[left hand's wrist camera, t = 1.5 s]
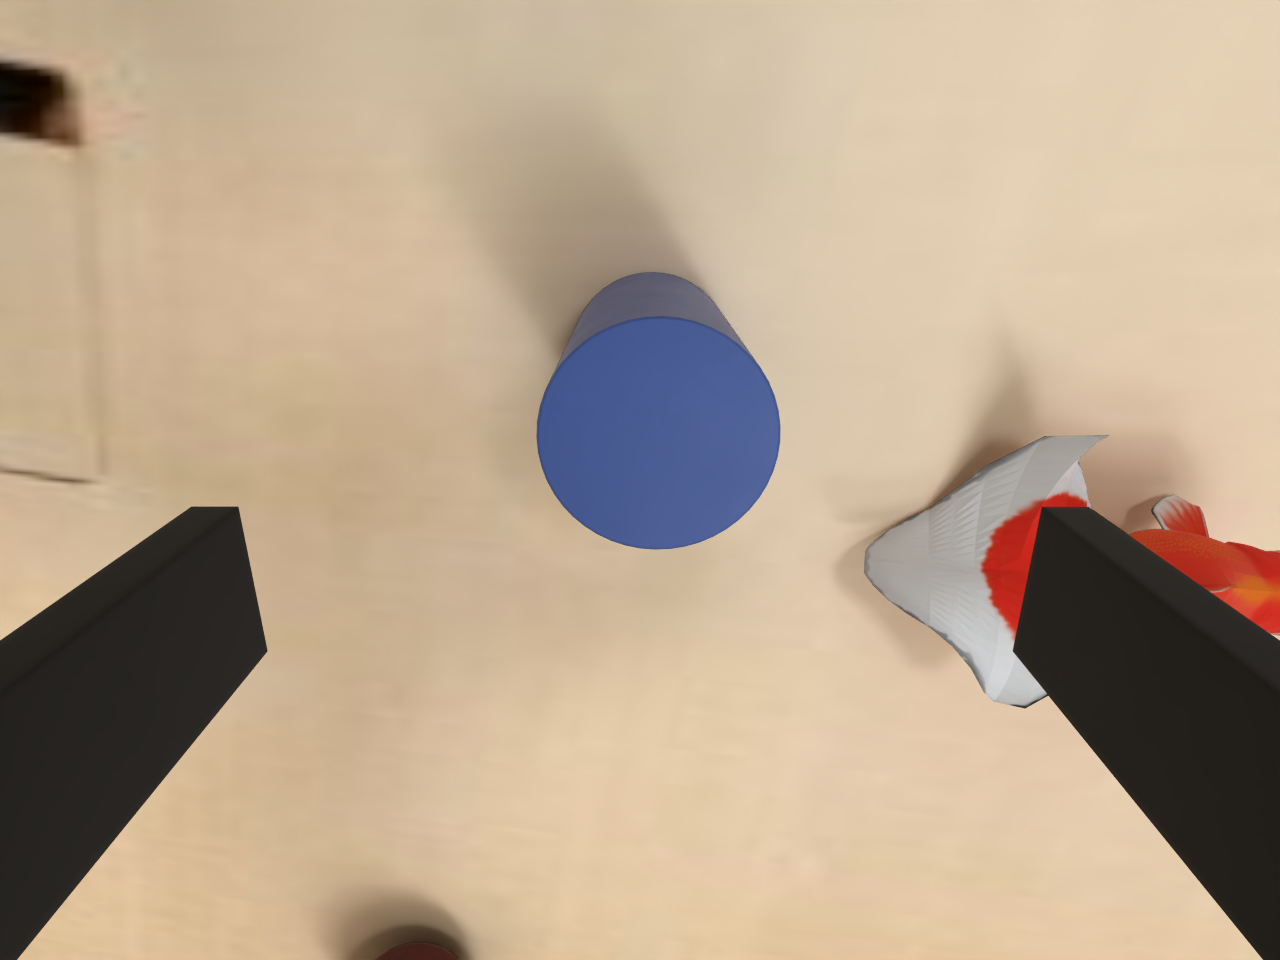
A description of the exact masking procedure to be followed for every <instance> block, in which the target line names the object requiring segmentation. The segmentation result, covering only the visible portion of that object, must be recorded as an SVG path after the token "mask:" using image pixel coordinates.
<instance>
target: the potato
mask: <svg viewBox="0 0 1280 960" xmlns="http://www.w3.org/2000/svg"><path fill="white" fill-rule="evenodd" d="M376 960H458V958H457V957H456V956H455V955H454V954H453V953H452V952H450V951H449V950H447V949H446V948H444V947H443V946H439V945H436V944H432V943H429V942H411V943H407V944H404V945H400V946H397V947H395V948H392V949H390V950H389V951H387V952H386V953H384V954H383V955H381V956H380V957H379V958H377V959H376Z"/></svg>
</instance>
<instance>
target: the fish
mask: <svg viewBox="0 0 1280 960" xmlns="http://www.w3.org/2000/svg"><path fill="white" fill-rule="evenodd" d="M1107 436H1109V435H1094V436H1044V437H1042V438H1040V439H1038V440H1036V441H1034V442H1032V443H1030V444H1028V445H1026V446H1024V447H1022V448H1020V449H1018V450H1016V451H1014V452H1012V453H1010V454H1008V455H1006V456H1004V457H1002V458H1000V459H998V460H996V461H994V462H992V463H990V464H989V465H987V466H986V467H985V468H983V469H982V470H981V471H979V472H978V473H977V474H975V475H974V476H972V477H971V478H970V479H968V480H967V481H966V482H964V483H963V484H962V485H960V486H959V487H958V488H956V489H955V490H954V491H952V492H951V493H950V494H948V495H947V496H946V497H944V498H943V499H941V500H940V501H939V502H937V503H936V504H935V505H933V506H932V507H931V508H929V509H927V510H925V511H923V512H921V513H919V514H917V515H915V516H913V517H911V518H908V519H907V520H905V521H903V522H902V523H900V524H898V525H897V526H895V527H893V528H892V529H890V530H888V531H887V532H886V533H884V534H883V535H882V536H880V537H879V538H877V539H876V540H875V541H874V542H873V543H872V544H871V545H870V546H869V547H868V548H867V549H866V551H865V566H864V573H865V575H866V576H867V578H868V579H869V580H870V582H871V583H872V584H873V586H874V587H875V588H877V589H878V590H879V591H880V592H881V593H882V594H883V595H884V596H885V597H886V598H887V599H888V600H889V601H891V602H892V603H893V604H895V605H896V606H897V607H899V608H900V609H902V610H903V611H904V612H906V613H907V614H909V615H910V616H912V617H914V618H915V619H917V620H918V621H920V622H922V623H923V624H925V625H927V626H928V627H930V628H931V629H932V630H934V631H935V632H936V633H937V634H938V635H940V636H941V637H942V638H943V639H944V640H946V641H947V642H948V643H949V644H950V645H951V646H953V648H954V649H955V650H956V651H957V652H958V654H959V655H960V656H961V657H962V658H963V660H964V661H965V662H966V663H967V664H968V665H969V667H970V668H971V669H972V671H973V673H974V675H975V677H976V678H977V680H978V682H979V684H980V686H981V688H982V690H983V691H984V693H985V694H986V695H987V696H988V697H989V698H990V699H991V700H992V701H994V702H999V703H1003V704H1008V705H1012V706H1017V707H1021V708H1027V707H1029V706H1030V705H1032V704H1034V703H1036V702H1037V701H1039V700H1041V699H1043V698H1045V697H1046V696H1048V694H1047V693H1046V692H1045V691H1044V689H1043V688H1042V687H1041V686H1040V684H1039V683H1038V682H1037V681H1036V680H1035V678H1034V677H1033V676H1032V675H1031V673H1030V672H1029V671H1028V670H1027V668H1026V667H1025V666H1024V665H1023V664H1022V662H1021V661H1020V660H1019V659H1018V657H1017V656H1016V655H1015V654H1014V652H1013V646H1014V641H1015V636H1016V631H1017V626H1018V621H1019V616H1020V612H1021V607H1022V602H1023V597H1024V592H1025V587H1026V582H1027V577H1028V572H1029V567H1030V562H1031V557H1032V552H1033V547H1034V542H1035V537H1036V532H1037V528H1038V523H1039V518H1040V513H1041V508H1042V507H1090V508H1091V505H1090V503H1089V500H1088V495H1087V489H1086V484H1085V480H1084V477H1083V474H1082V470H1081V467H1080V464H1079V459H1080V458H1081V456H1082V455H1083V454H1084V453H1085V452H1086V451H1088V450H1089V449H1090V448H1091V447H1093V446H1094V445H1095V444H1096V443H1097V442H1099V441H1101V440H1102V439H1104V438H1106V437H1107ZM1091 509H1092V508H1091ZM1152 513H1153V515H1154V516H1155V517H1156V519H1157V521H1158V522H1159V524H1160V526H1161V527H1162V529H1150V530H1143V531H1139V532H1134V533H1132V534H1129V535H1130V536H1131V537H1132V538H1134V539H1135V540H1137V541H1138V542H1140V543H1141V544H1142V545H1144V546H1145V547H1147V548H1148V549H1150V550H1151V551H1152V552H1154V553H1155V554H1157V555H1158V556H1160V557H1161V558H1162V559H1164V560H1165V561H1167V562H1168V563H1170V564H1171V565H1172V566H1174V567H1175V568H1177V569H1178V570H1180V571H1181V572H1182V573H1184V574H1185V575H1187V576H1188V577H1190V578H1191V579H1192V580H1194V581H1195V582H1197V583H1198V584H1200V585H1201V586H1202V587H1204V588H1205V589H1207V590H1208V591H1210V592H1211V593H1212V594H1214V595H1215V596H1217V597H1218V598H1220V599H1221V600H1222V601H1224V602H1225V603H1227V604H1228V605H1230V606H1231V607H1232V608H1234V609H1235V610H1237V611H1238V612H1240V613H1241V614H1242V615H1244V616H1245V617H1247V618H1248V619H1250V620H1251V621H1252V622H1254V623H1255V624H1257V625H1258V626H1260V627H1261V628H1262V629H1264V630H1265V631H1267V632H1268V633H1270V634H1274V635H1278V636H1280V550H1279V551H1264V550H1261V549H1258V548H1255V547H1252V546H1248V545H1245V544H1239V543H1234V542H1226V543H1223V542H1220V541H1217V540H1215V539H1212V538H1209V535H1208V530H1207V526H1206V522H1205V519H1204V515H1203V513H1202V511H1201V509H1200V507H1198V506H1195V505H1192V504H1191V503H1189V502H1187V501H1185V500H1183V499H1182V498H1180V497H1178V496H1176V495H1174V494H1173V495H1170V496H1168V497H1165V498H1162V499H1161V500H1160V501H1159V502H1158V503H1157V504H1155V505H1154V506H1153V508H1152Z"/></svg>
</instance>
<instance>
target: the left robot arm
mask: <svg viewBox="0 0 1280 960" xmlns="http://www.w3.org/2000/svg"><path fill="white" fill-rule="evenodd" d="M266 652H267V646H266V641H265V636H264V631H263V626H262V621H261V616H260V612H259V607H258V602H257V597H256V592H255V587H254V582H253V577H252V572H251V567H250V562H249V557H248V552H247V547H246V542H245V537H244V532H243V528H242V523H241V518H240V513H239V508H238V507H190V508H189V509H187V510H186V511H185V512H183V513H182V514H180V515H179V516H177V517H176V518H175V519H173V520H172V521H170V522H169V523H168V524H166V525H165V526H163V527H162V528H160V529H159V530H158V531H156V532H155V533H153V534H152V535H150V536H149V537H148V538H146V539H145V540H143V541H142V542H140V543H139V544H138V545H136V546H135V547H133V548H132V549H130V550H129V551H128V552H126V553H125V554H123V555H122V556H120V557H119V558H118V559H116V560H115V561H113V562H112V563H110V564H109V565H108V566H106V567H105V568H103V569H102V570H100V571H99V572H98V573H96V574H95V575H93V576H92V577H90V578H89V579H88V580H86V581H85V582H83V583H82V584H80V585H79V586H78V587H76V588H75V589H73V590H72V591H70V592H69V593H68V594H66V595H65V596H63V597H62V598H60V599H59V600H58V601H56V602H55V603H53V604H52V605H50V606H49V607H48V608H46V609H45V610H43V611H42V612H40V613H39V614H38V615H36V616H35V617H33V618H32V619H30V620H29V621H28V622H26V623H25V624H23V625H22V626H20V627H19V628H18V629H16V630H15V631H13V632H12V633H10V634H9V635H8V636H6V637H5V638H3V639H2V640H0V960H17V959H18V958H19V957H20V955H21V954H22V953H23V952H24V950H25V949H26V948H27V947H28V945H29V944H30V943H31V942H32V941H33V939H34V938H35V937H36V936H37V934H38V933H39V932H40V931H41V929H42V928H43V927H44V926H45V925H46V923H47V922H48V921H49V920H50V918H51V917H52V916H53V915H54V913H55V912H56V911H57V910H58V908H59V907H60V906H61V905H62V904H63V902H64V901H65V900H66V899H67V897H68V896H69V895H70V894H71V892H72V891H73V890H74V889H75V888H76V886H77V885H78V884H79V883H80V881H81V880H82V879H83V878H84V876H85V875H86V874H87V873H88V872H89V870H90V869H91V868H92V867H93V865H94V864H95V863H96V862H97V860H98V859H99V858H100V857H101V856H102V854H103V853H104V852H105V851H106V849H107V848H108V847H109V846H110V844H111V843H112V842H113V841H114V840H115V838H116V837H117V836H118V835H119V833H120V832H121V831H122V830H123V828H124V827H125V826H126V825H127V824H128V822H129V821H130V820H131V819H132V817H133V816H134V815H135V814H136V812H137V811H138V810H139V809H140V808H141V806H142V805H143V804H144V803H145V801H146V800H147V799H148V798H149V796H150V795H151V794H152V793H153V792H154V790H155V789H156V788H157V787H158V785H159V784H160V783H161V782H162V780H163V779H164V778H165V777H166V776H167V774H168V773H169V772H170V771H171V769H172V768H173V767H174V766H175V764H176V763H177V762H178V761H179V760H180V758H181V757H182V756H183V755H184V753H185V752H186V751H187V750H188V748H189V747H190V746H191V745H192V744H193V742H194V741H195V740H196V739H197V737H198V736H199V735H200V734H201V732H202V731H203V730H204V729H205V728H206V726H207V725H208V724H209V723H210V721H211V720H212V719H213V718H214V716H215V715H216V714H217V713H218V712H219V710H220V709H221V708H222V707H223V705H224V704H225V703H226V702H227V700H228V699H229V698H230V697H231V696H232V694H233V693H234V692H235V691H236V689H237V688H238V687H239V686H240V684H241V683H242V682H243V681H244V680H245V678H246V677H247V676H248V675H249V673H250V672H251V671H252V670H253V668H254V667H255V666H256V665H257V664H258V662H259V661H260V660H261V659H262V657H263V656H264V655H265V654H266ZM1013 652H1014V654H1015V655H1016V656H1017V657H1018V659H1019V660H1020V661H1021V662H1022V664H1023V665H1024V666H1025V667H1026V668H1027V670H1028V671H1029V672H1030V673H1031V675H1032V676H1033V677H1034V678H1035V680H1036V681H1037V682H1038V683H1039V684H1040V686H1041V687H1042V688H1043V689H1044V691H1045V692H1046V693H1047V694H1048V696H1049V697H1050V698H1051V699H1052V700H1053V702H1054V703H1055V704H1056V705H1057V707H1058V708H1059V709H1060V710H1061V712H1062V713H1063V714H1064V715H1065V716H1066V718H1067V719H1068V720H1069V721H1070V723H1071V724H1072V725H1073V726H1074V728H1075V729H1076V730H1077V731H1078V732H1079V734H1080V735H1081V736H1082V737H1083V739H1084V740H1085V741H1086V742H1087V744H1088V745H1089V746H1090V747H1091V748H1092V750H1093V751H1094V752H1095V753H1096V755H1097V756H1098V757H1099V758H1100V760H1101V761H1102V762H1103V763H1104V764H1105V766H1106V767H1107V768H1108V769H1109V771H1110V772H1111V773H1112V774H1113V776H1114V777H1115V778H1116V779H1117V780H1118V782H1119V783H1120V784H1121V785H1122V787H1123V788H1124V789H1125V790H1126V792H1127V793H1128V794H1129V795H1130V796H1131V798H1132V799H1133V800H1134V801H1135V803H1136V804H1137V805H1138V806H1139V808H1140V809H1141V810H1142V811H1143V812H1144V814H1145V815H1146V816H1147V817H1148V819H1149V820H1150V821H1151V822H1152V824H1153V825H1154V826H1155V827H1156V828H1157V830H1158V831H1159V832H1160V833H1161V835H1162V836H1163V837H1164V838H1165V840H1166V841H1167V842H1168V843H1169V844H1170V846H1171V847H1172V848H1173V849H1174V851H1175V852H1176V853H1177V854H1178V856H1179V857H1180V858H1181V859H1182V860H1183V862H1184V863H1185V864H1186V865H1187V867H1188V868H1189V869H1190V870H1191V872H1192V873H1193V874H1194V875H1195V876H1196V878H1197V879H1198V880H1199V881H1200V883H1201V884H1202V885H1203V886H1204V888H1205V889H1206V890H1207V891H1208V892H1209V894H1210V895H1211V896H1212V897H1213V899H1214V900H1215V901H1216V902H1217V904H1218V905H1219V906H1220V907H1221V908H1222V910H1223V911H1224V912H1225V913H1226V915H1227V916H1228V917H1229V918H1230V920H1231V921H1232V922H1233V923H1234V925H1235V926H1236V927H1237V928H1238V929H1239V931H1240V932H1241V933H1242V934H1243V936H1244V937H1245V938H1246V939H1247V941H1248V942H1249V943H1250V944H1251V945H1252V947H1253V948H1254V949H1255V950H1256V952H1257V953H1258V954H1259V955H1260V957H1261V958H1262V959H1263V960H1280V640H1278V639H1277V638H1275V637H1274V636H1272V635H1271V634H1270V633H1268V632H1267V631H1265V630H1264V629H1262V628H1261V627H1260V626H1258V625H1257V624H1255V623H1254V622H1252V621H1251V620H1250V619H1248V618H1247V617H1245V616H1244V615H1242V614H1241V613H1240V612H1238V611H1237V610H1235V609H1234V608H1232V607H1231V606H1230V605H1228V604H1227V603H1225V602H1224V601H1222V600H1221V599H1220V598H1218V597H1217V596H1215V595H1214V594H1212V593H1211V592H1210V591H1208V590H1207V589H1205V588H1204V587H1202V586H1201V585H1200V584H1198V583H1197V582H1195V581H1194V580H1192V579H1191V578H1190V577H1188V576H1187V575H1185V574H1184V573H1182V572H1181V571H1180V570H1178V569H1177V568H1175V567H1174V566H1172V565H1171V564H1170V563H1168V562H1167V561H1165V560H1164V559H1162V558H1161V557H1160V556H1158V555H1157V554H1155V553H1154V552H1152V551H1151V550H1150V549H1148V548H1147V547H1145V546H1144V545H1142V544H1141V543H1140V542H1138V541H1137V540H1135V539H1134V538H1132V537H1131V536H1130V535H1128V534H1127V533H1125V532H1124V531H1122V530H1121V529H1120V528H1118V527H1117V526H1115V525H1114V524H1112V523H1111V522H1110V521H1108V520H1107V519H1105V518H1104V517H1103V516H1101V515H1100V514H1098V513H1097V512H1095V511H1094V510H1093V509H1091V508H1090V507H1042V508H1041V513H1040V518H1039V523H1038V528H1037V532H1036V537H1035V542H1034V547H1033V552H1032V557H1031V562H1030V567H1029V572H1028V577H1027V582H1026V587H1025V592H1024V597H1023V602H1022V607H1021V612H1020V616H1019V621H1018V626H1017V631H1016V636H1015V641H1014V646H1013Z"/></svg>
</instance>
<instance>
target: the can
mask: <svg viewBox="0 0 1280 960" xmlns="http://www.w3.org/2000/svg"><path fill="white" fill-rule="evenodd" d="M779 445H780V419H779V411H778V407H777V403H776V399H775V396H774V393H773V391H772V388H771V386H770V384H769V381H768V380H767V378H766V376H765V375H764V373H763V371H762V369H761V368H760V366H759V365H758V364H757V362H756V361H755V359H754V358H753V356H752V355H751V354H750V352H749V351H748V349H747V348H746V347H745V345H744V344H743V342H742V341H741V339H740V338H739V337H738V335H737V334H736V332H735V331H734V330H733V328H732V327H731V325H730V324H729V323H728V321H727V320H726V318H725V317H724V315H723V314H722V313H721V311H720V310H719V308H718V307H717V306H716V304H715V303H714V302H713V301H712V299H711V298H710V297H709V296H708V295H707V294H706V293H705V292H704V291H703V290H701V289H700V288H698V287H697V286H696V285H694V284H692V283H691V282H689V281H687V280H685V279H682V278H680V277H677V276H674V275H670V274H666V273H656V272H649V273H639V274H634V275H630V276H627V277H624V278H621V279H619V280H617V281H615V282H613V283H611V284H610V285H608V286H607V287H605V288H604V289H603V290H601V291H600V292H599V293H598V294H597V295H596V296H595V297H594V298H593V299H592V300H591V301H590V303H589V304H588V305H587V307H586V308H585V310H584V311H583V313H582V315H581V317H580V319H579V321H578V323H577V325H576V327H575V329H574V332H573V334H572V336H571V338H570V340H569V342H568V344H567V346H566V348H565V350H564V352H563V355H562V357H561V359H560V361H559V363H558V365H557V367H556V369H555V371H554V373H553V375H552V377H551V380H550V382H549V384H548V386H547V388H546V390H545V392H544V395H543V398H542V402H541V405H540V409H539V414H538V420H537V446H538V454H539V458H540V462H541V466H542V469H543V472H544V474H545V477H546V480H547V482H548V484H549V485H550V487H551V489H552V491H553V493H554V494H555V496H556V497H557V498H558V500H559V501H560V503H561V504H562V505H563V506H564V508H565V509H566V510H567V511H568V512H569V513H570V514H571V515H572V516H573V517H574V518H575V519H577V520H578V521H579V522H580V523H582V524H583V525H584V526H585V527H587V528H588V529H590V530H592V531H593V532H595V533H596V534H598V535H600V536H602V537H605V538H607V539H609V540H611V541H614V542H617V543H620V544H623V545H626V546H631V547H637V548H644V549H672V548H678V547H684V546H688V545H692V544H695V543H699V542H701V541H704V540H706V539H708V538H711V537H713V536H715V535H717V534H718V533H720V532H722V531H724V530H726V529H727V528H728V527H730V526H731V525H732V524H734V523H735V522H736V521H738V520H739V519H740V518H741V517H742V516H743V515H744V514H745V513H746V512H747V511H748V510H749V509H750V508H751V507H752V506H753V505H754V503H755V502H756V501H757V500H758V498H759V497H760V495H761V494H762V492H763V491H764V489H765V487H766V486H767V484H768V482H769V479H770V477H771V475H772V473H773V470H774V467H775V464H776V460H777V457H778V451H779Z"/></svg>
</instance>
